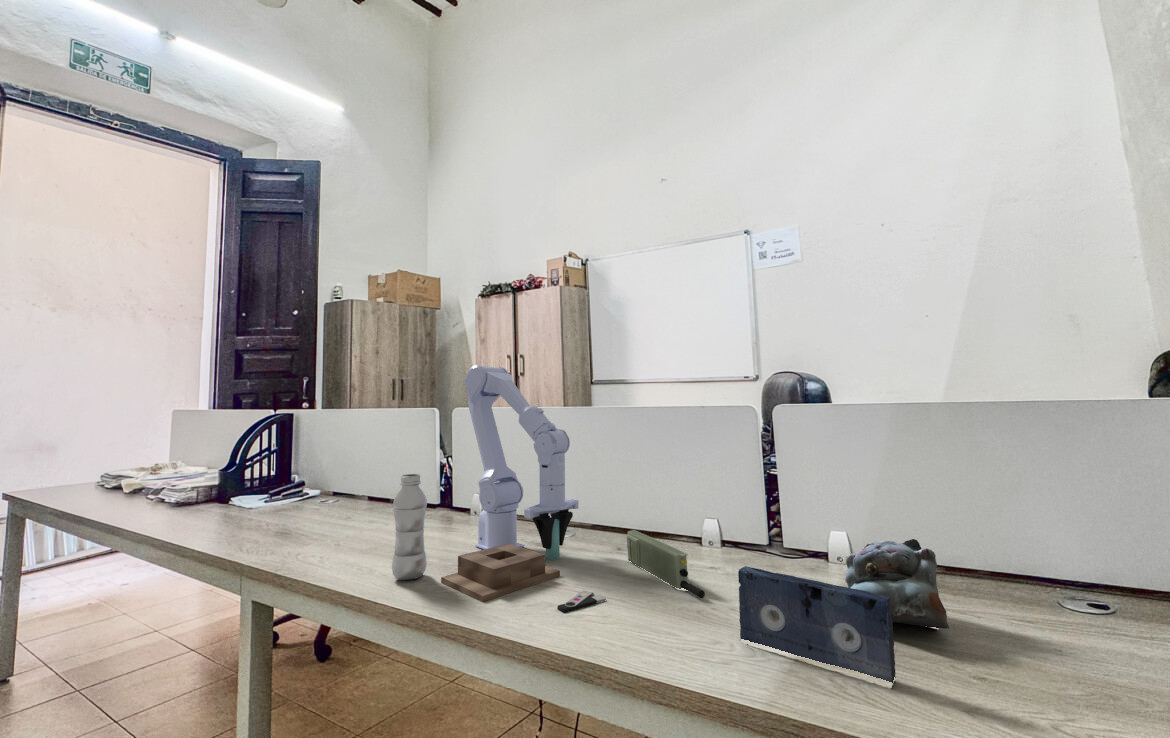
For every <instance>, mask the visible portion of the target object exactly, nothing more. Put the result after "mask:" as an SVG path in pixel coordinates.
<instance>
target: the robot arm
mask: <svg viewBox="0 0 1170 738" xmlns="http://www.w3.org/2000/svg"><path fill="white" fill-rule="evenodd" d="M464 385H465V389H466V393H467V407H468V410H469V414H470V417H471V418H470V419H471V422H472V426H473V430H474V431H473V432H474V433H475V434H474V435H475V438H476V441H477V446H478V450H479V454H480V458H481V462H482V465H483V469H484V470H483V471H484V474H482V477H481V478H480V479H479V481H478V482H477V483H478V488H479V492H478V494H479V495H478V497H479V498H478V499H479V500H478V501H479V503H480V505H481V507H482V508H483V510H482V511H481V512H480V513H479V516H478V519H477V520H478V524H477V525H478V529H477V533H478V539H477V540H478V541H477V543H475V544H474V546H475V547H477V548H479V549H481V550H484V549H488V548H492V547H496V546H500V545H504V544H512V545H515V546H518V547H521V548H524V547H525V544H524V543H520V542H518V539H517V537H518V534H517V532H518V530H517V526H518V523H517V520H518V518H517V517H518V516H517V515H518V513H517V510H518V508H519V504H520V503H521V502H522V500H523V497H524V488H523V485H522V483H521V482H520V481H519V479H518V476H517V473H516V472H515V471H514V470H512V469H511V468H510V467H509V466H508V465H507V461H506V457H505V453H504V449H503V445H502V442H501V438H500V435H499V430H498V426H497V424H496V419H495V415H494V412H493V408H492V407H493V405H494V403H495V402H497V400H498V399H499V398H500V397H501V398H502V399H503V400H504V401H505V402H506V403H507V404H508V405H509V406H510V407H511V408H512V410H514V412H516V414H517V415H518V424H520V426H521V428H522V429H524V431H525V432H526V434H527V435H528V436H529V437H530V438H531V440H532V441H533V449H534V451H535V453H536V455H537V462H538V464H539V503H537V504H535V505H532V506H529V507H526V508H523V509H524V510H523V511H524V512H523V517H524V518H525V519H528V520H530V519H531V520H532V521H533V523H534V525H535V527H536V529H537V531H538V535H539V538H540V542H541V546H542V548H544V549H545V550H546V549H551V545H552V529H553V525H554V521H555V519H557V520H559V546H563V545H564V540H565V537H566V533H567V529H568V526H569V524H570V522H571V520H572V518H573V515H574V514H573V512H572V511H569V510H577V509H578V510H579V500H578V499H574V498H573V499H571V498H570V499H566V462H565V461H566V456H565V455H566V453H567V452H568V450H569V448H570V445H571V442H570V441H571V440H570V438H569V436H568V434H567V432H566V431H565V430H564V429H561V428H560V429H559V428H557V427H556V425H555V424H554V423H552V422H551V421H550V419H548V417H547V416H546V415H545V414H544V413H545V411H544V409H543V408H541V407H538V406H534V405H532V406H531V405H530V403H529V401H527V399H526V398H525V396H524V395H523V394H522V392H521V391H520V390H519V388H518V387H517V385H516V384H515V383H514V382H513V375H512V374H510V373H509V371H508V370H507V369H506V368H505V367H502V366H498V367H494V366H484V365H480V364H474V365H472V366H471V367H470V368H469V369H468V371H467V373H466V375H465V377H464Z"/></svg>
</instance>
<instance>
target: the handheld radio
mask: <svg viewBox="0 0 1170 738" xmlns="http://www.w3.org/2000/svg"><path fill="white" fill-rule="evenodd" d="M626 543H627V545H626V547H627V560H628V562H629V561H631V562H632V563H634V564H636V565H637V566H639V567H641V568H643V569H645V570H646V571H648V572H650V573H651V574H653V575H655V576H657V577H658V578H660V579H662V580H663V581H665V582H667V583H669V584H670V585H672V586H674V587H676V588H679V589H681V588H684V589H686V590H688V592H689V593H691V594H693V595H694V596H697V598H699V599H704V597H705V596H706V595H705V594H706V592H705V591H704V590H703V589H701V588H699V587H698V586H696V585H694V584H692V583H689V578H688V576H689V571H688V561H687V559H688V558H687V556H689V554H687V552H684V551H682V550H680V549H678V548H676V547H674V546H671V545H669V544H667V543H664V542H662V541H660V540H658V539H655V538H654V537H652V536H649V535H647V534H645V533H642V532H640V531H637V530H636V529H632V530H628V531H627V535H626ZM631 562H630V563H631ZM632 563H631V564H632ZM634 564H633V565H634ZM636 565H635V566H636ZM637 566H636V567H637ZM639 567H638V568H639ZM641 568H640V569H641ZM646 571H645V572H646ZM651 574H650V575H651ZM658 578H657V579H658ZM663 581H662V582H663Z"/></svg>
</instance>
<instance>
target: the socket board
mask: <svg viewBox="0 0 1170 738" xmlns="http://www.w3.org/2000/svg"><path fill="white" fill-rule="evenodd" d="M560 576H561V570H560V569H556V568H554V567H550V566H549V565H548V566H547V565H546V553H545V554H544V553H541V552H537V551H535V550H531V549H527V548H524V547H518V546H515V545H512V544H504V545H500V546H496V547H492V548H488V549H481V550H476V551H473V552H472V551H471V552H467V553H465V554H461V555H458V556H457V572H456V573H451V574H449V575H448V574H447V575H445V576H444V575H443V576H441V577H440V583H441V584H443V585H445V586H448V587H450V588H452V589H454V590H456V591H458V592H461V593H463V594H465V595H468V596H469V597H471V598H473V599H476V600H477V601H480V602H482V603H483V602H486V601H490V600H492V599H495V598H500V597H502V596H505V595H507V594H510V593H513V592H516V591H518V590H521V589H525V588H529V587H530V586H534V585H536V584H540V583H543V582H546V581H549V580H552V579H555V578H557V577H560Z"/></svg>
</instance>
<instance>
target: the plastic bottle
mask: <svg viewBox="0 0 1170 738" xmlns="http://www.w3.org/2000/svg"><path fill="white" fill-rule="evenodd" d="M421 483H422V482H421V474H420V473H407V474H402V475H401V476H400V483H399V484H400V486H401V488H400V489H399V491H398V492H397V494H396V495H395V497H394V499H393V502H392V507H393V515H394V516H393V517H394V523H395V525H394V526H395V528H394V529H395V543H394V551H393V554H394V555H393V556H392V557H393V558H392V562H391V569H392V570H391V571H392V575H393V576H394V578H395V579H396V580H401V581H403V580H404V581H406V580H408V581H409V580H414V579H418V578H420V577H422V576H423V575H424V573H425V572H426V570H427V569H426V568H427V564H428V563H427V555H426V550H425V538H424V535H425V534H424V533H425V530H424V529H425V519H426V513H427V505H428V500H427V496H426V495H425V493H424V491H423V490H422V488H421V487H420V485H421Z"/></svg>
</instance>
